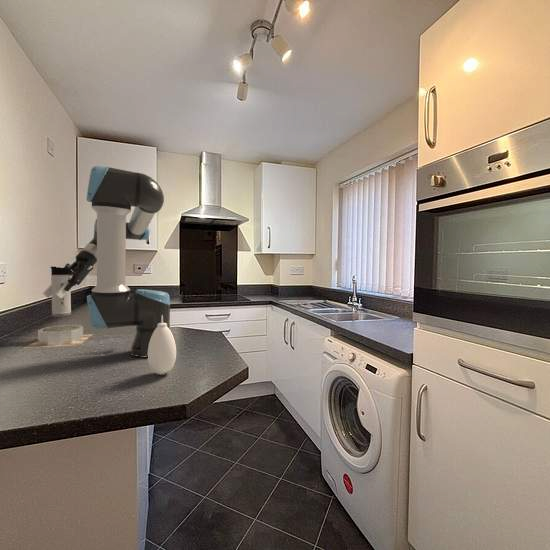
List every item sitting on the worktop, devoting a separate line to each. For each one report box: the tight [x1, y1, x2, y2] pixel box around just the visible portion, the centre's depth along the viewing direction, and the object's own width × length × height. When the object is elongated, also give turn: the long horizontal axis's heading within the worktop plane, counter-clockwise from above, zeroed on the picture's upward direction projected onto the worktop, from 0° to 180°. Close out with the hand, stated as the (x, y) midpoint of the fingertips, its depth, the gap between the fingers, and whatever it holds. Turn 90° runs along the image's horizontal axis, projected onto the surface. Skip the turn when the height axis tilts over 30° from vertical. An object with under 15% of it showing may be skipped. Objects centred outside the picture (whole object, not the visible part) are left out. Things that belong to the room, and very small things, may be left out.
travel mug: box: [50, 266, 72, 318], centre depth 120 cm, size 6×7×20 cm
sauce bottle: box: [147, 315, 177, 374], centre depth 88 cm, size 8×8×18 cm
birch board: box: [23, 333, 94, 349], centre depth 120 cm, size 18×18×1 cm
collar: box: [37, 324, 84, 346], centre depth 120 cm, size 14×14×5 cm
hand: (52, 295), depth 116 cm, fingers closed on travel mug, 6 cm apart
